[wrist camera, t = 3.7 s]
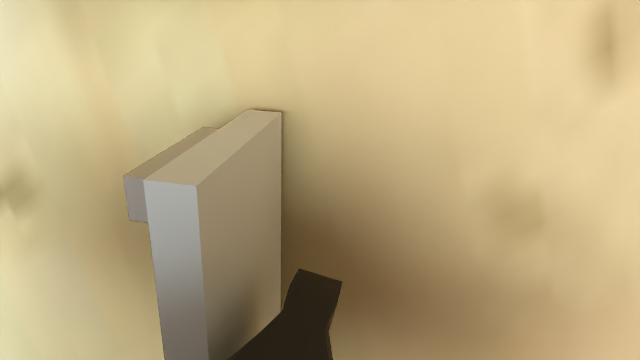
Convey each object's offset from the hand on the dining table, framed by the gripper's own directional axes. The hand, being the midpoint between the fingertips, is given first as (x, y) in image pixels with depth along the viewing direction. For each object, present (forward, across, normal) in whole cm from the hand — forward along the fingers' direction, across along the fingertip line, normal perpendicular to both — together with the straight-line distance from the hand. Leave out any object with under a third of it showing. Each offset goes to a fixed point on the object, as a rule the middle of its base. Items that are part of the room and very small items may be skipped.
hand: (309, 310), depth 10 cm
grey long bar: (+2, +1, +3) cm, 4 cm away
